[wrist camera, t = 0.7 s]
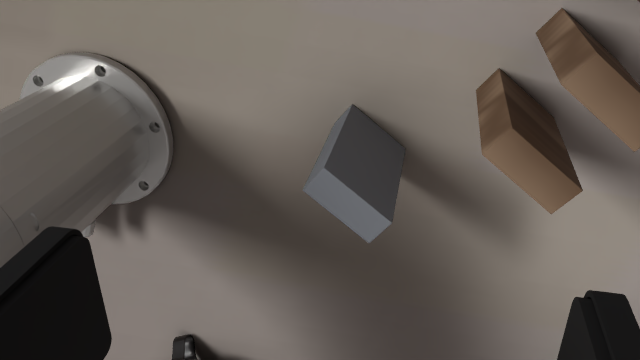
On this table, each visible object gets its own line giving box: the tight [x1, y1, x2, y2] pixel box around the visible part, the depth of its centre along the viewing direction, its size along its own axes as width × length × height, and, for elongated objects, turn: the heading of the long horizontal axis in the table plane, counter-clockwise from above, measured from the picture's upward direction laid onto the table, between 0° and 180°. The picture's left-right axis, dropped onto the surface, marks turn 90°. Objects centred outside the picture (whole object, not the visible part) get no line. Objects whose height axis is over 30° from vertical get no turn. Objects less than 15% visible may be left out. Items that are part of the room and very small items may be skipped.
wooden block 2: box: [536, 8, 640, 152], centre depth 31 cm, size 2×5×10 cm, turn 52°
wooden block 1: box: [476, 69, 583, 214], centre depth 33 cm, size 2×5×10 cm, turn 52°
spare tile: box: [303, 104, 405, 243], centre depth 37 cm, size 2×5×10 cm, turn 52°
